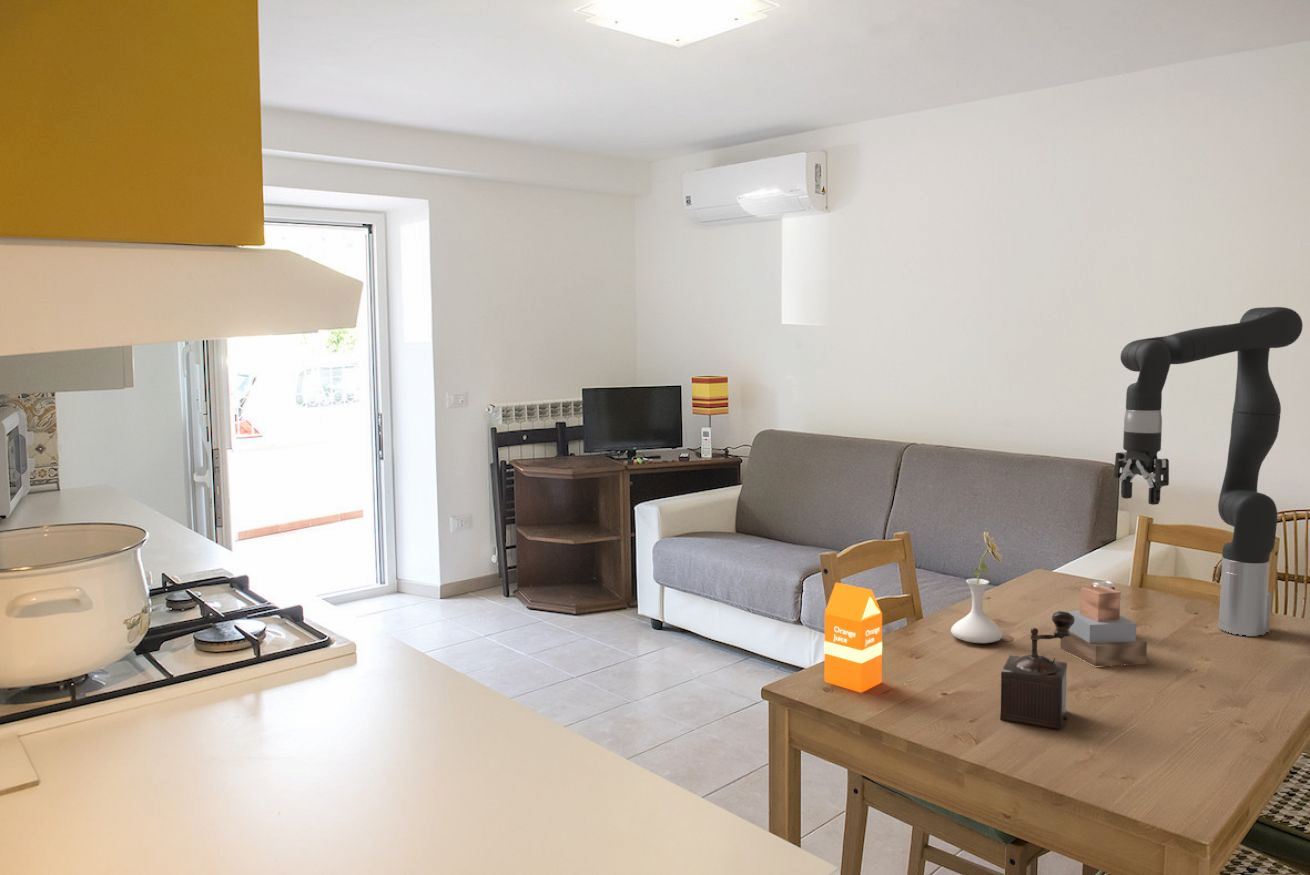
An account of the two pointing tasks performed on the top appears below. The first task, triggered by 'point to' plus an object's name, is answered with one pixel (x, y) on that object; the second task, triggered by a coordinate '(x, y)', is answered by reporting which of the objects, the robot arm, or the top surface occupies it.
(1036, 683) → the coffee grinder
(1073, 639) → the walnut base block
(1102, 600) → the terracotta block
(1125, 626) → the grey top block
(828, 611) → the orange juice
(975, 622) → the flower in vase
